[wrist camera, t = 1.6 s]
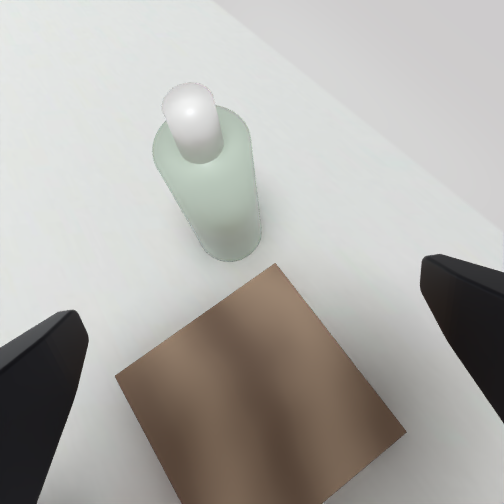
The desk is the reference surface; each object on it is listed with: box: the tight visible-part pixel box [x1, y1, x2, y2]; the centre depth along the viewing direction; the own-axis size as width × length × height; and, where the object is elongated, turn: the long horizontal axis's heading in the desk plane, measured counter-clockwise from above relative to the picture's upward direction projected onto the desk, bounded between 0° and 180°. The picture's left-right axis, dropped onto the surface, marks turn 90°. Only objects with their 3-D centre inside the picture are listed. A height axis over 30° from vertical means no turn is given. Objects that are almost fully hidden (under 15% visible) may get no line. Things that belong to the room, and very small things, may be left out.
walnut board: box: [115, 263, 406, 504], centre depth 21 cm, size 12×12×1 cm
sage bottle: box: [152, 82, 261, 262], centre depth 19 cm, size 4×4×12 cm
